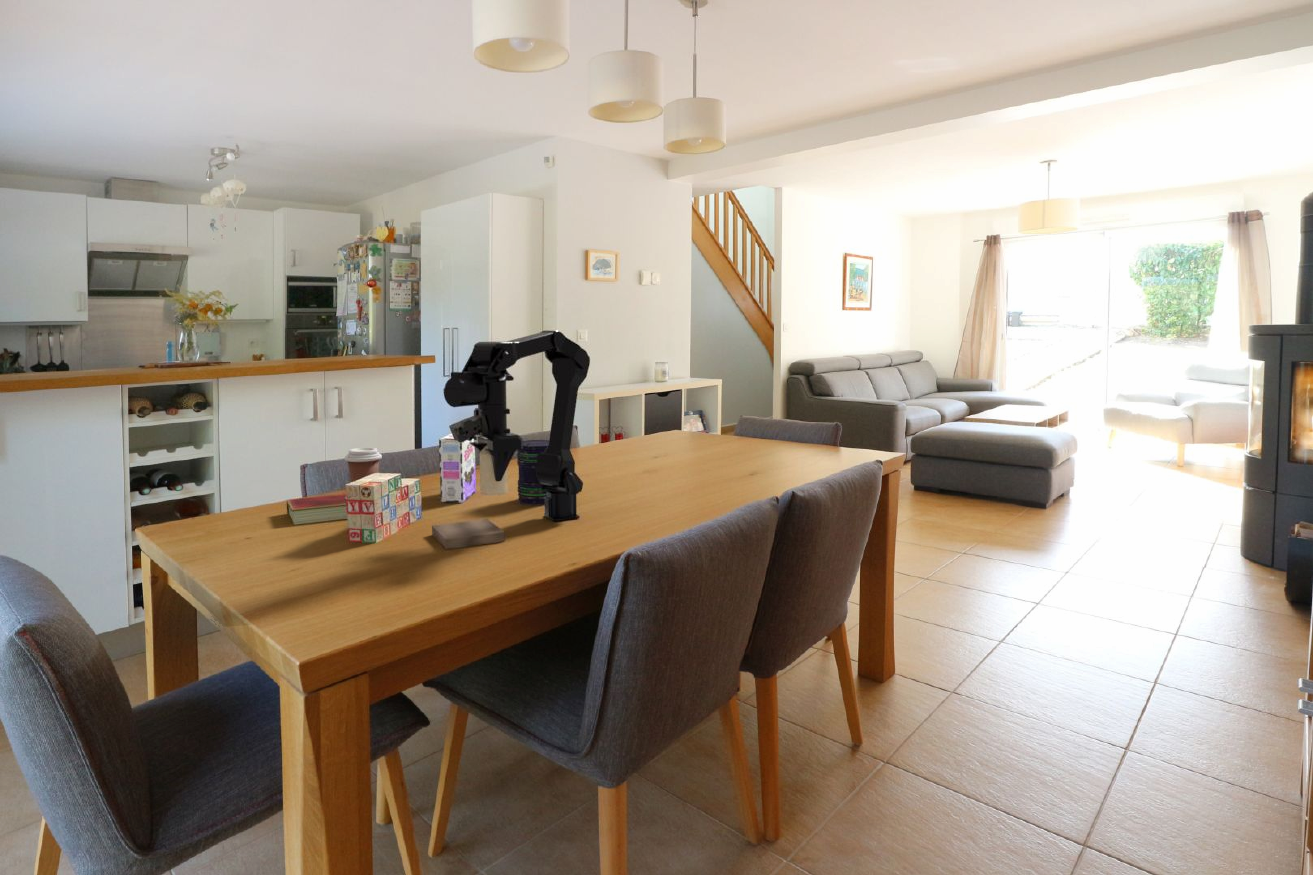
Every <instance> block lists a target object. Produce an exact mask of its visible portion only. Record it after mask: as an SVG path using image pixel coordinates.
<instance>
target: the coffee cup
mask: <svg viewBox="0 0 1313 875" xmlns="http://www.w3.org/2000/svg"><path fill="white" fill-rule="evenodd" d="M382 458H383V456H382V454H381V453H380V452H379V451H378V448H376V447H368V446H367V447H355V448H351V449H349V450H348V453H347V455H345V456H344V461H346V462H347V466H348V474H349V481H350V482H349V483H351V482H354V481H357V480H359V479H362V478H364V477H366V476H369V475H371V474H374V473H380V460H381V459H382Z"/></svg>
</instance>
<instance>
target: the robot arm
mask: <svg viewBox="0 0 1313 875" xmlns="http://www.w3.org/2000/svg"><path fill="white" fill-rule="evenodd" d="M541 353H544V357H545V359H547V361H549V363H551V373H552V376H553V379H554V381H555V383H556V387H555V388H556V389H555V395H554V403H553V408H552V409H553V410H552V415H551V416H552V418H551V425H550V432H549V439H548V441H549V445H548V448H547V449H546V450H545V452H544V453H539V454H538V456H537V466H536V468H535V471H537V479H538V480H539V484H540V487H541V490H542V491H547V498H545V505H544V513H543V515H544V517H546V518H548V519H550V520H551V521H553V522H558V521H564V520H566V521H567V520H573V519H580V517H581V516H580V515H579V514H578V513H577V507H578V506H577V495H578V494H579V493H581V492H582V491H583V486H584V481H583V480H582V479H581V478H580V476H579V475H578V474H577V473H576V471H575V470H576V469H575V468H576V461H575V459H574V456H573V454H572V451H571V445H572V438H573V437H572V436H573V429H574V422H575V415H576V414H575V413H576V407H577V400H578V392H579V387H580V386H581V385H582V384H583V382H584V381H585V380H586V378H587V376H588V372H589V368H590V364H591V358H590V355H589V354H588V352H587V351H586V350H585V349H584V348H583V347H582V346H581V345H579V344H578V343H576V342H574V341H573V340H571V339H570V338H568V337H566V336H565V334H564V333H563V332H561V331H559V330H548V329H547V330H545V329H544V330H542V331H540V332H537V333H534V334H530V335H526V336H522V337H518V338H514V339H511V340H510V339H509V340H508V341H478V342H476V343H475V344H474V345H473V349H472V352H471V353H470V356H469V357H468V359H467V361H466V363H465V365H464V366H463V369H462V370H461V371H451V372H450V377H449V379H448V380H447V381H446V383H445V385H444V388H443V397H444V400H445V402H446V403H447V404H448V405H449V406H450V407H453V408H460V407H471V406H477V407H474V410H473V415H472V416H470V417H466V418H463V419H462V420H458V421H456V422H454V423H452V424H450V425H449V426H448V428H449V429H450V432H451V433H452V435H453V438H454V440H455V441H456V440H457V441H458V442H464V441H466V440H468V441H472V439H474V442H471V443H470V444H471V445H472V446H474V447H475V450H477V451H478V453H479V455H480V452H481V451H482V450H483V449H484V447H485V446H488V449H485V451H486V452H487V453H489V454H490V455H491V457H492V463H493V469H494V475H495V480H496V481H501V480H502V478H503V476H504V474H505V471H506V469H507V470H508V467H509V464H510V462H511V461H512V458H514V457H513V456H514V455H515V452H517V449H522V448H523V441H524V439H523V438H522V437H521V436H520V435H519V434H516V433H513V432H511V429H510V428H508V425H507V424H508V421H507V420H508V419H507V417H508V416H507V415H510V414H511V413H510V412H511V410H510V408H507V382H509V381H510V382H511V381H514V379H515V377H514V376H513V375H512V374H511V373H509V371H508V370H507V369H509V368H511V367H513V366H514V365H515V364H516V363H517V361H519V360H521V359H523V358H526V357H529V356H530V357H531V356H534V355H536V354H541ZM451 433H450V434H451Z"/></svg>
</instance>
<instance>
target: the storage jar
mask: <svg viewBox="0 0 1313 875" xmlns="http://www.w3.org/2000/svg"><path fill="white" fill-rule="evenodd" d="M548 445H549V439H548V440H545V439H534V440H533V439H532V440H531V439H530V440H523V448H522V449H517V451H516V452H517V453H516V460H517V461H516V463H517V467H518V480H517V493H518V494H517V495H518V500H517V502H518V503H519V504H522V505H527V506H545V498H547V491H542V490H541V487H540V484H539V480H538V479H537V471H535V468H536V466H537V456H538V454H539V453H544V452H545V450H546V449H547V448H548Z"/></svg>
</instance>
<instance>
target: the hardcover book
mask: <svg viewBox="0 0 1313 875" xmlns="http://www.w3.org/2000/svg"><path fill="white" fill-rule="evenodd" d="M286 515H289V516H290V518H291V520H292V523H293V525H296V526H297V525H302V524H303V525H304V524H311V523H313V524H314V523H320V522H330V521H339V520H347V510H346V493H341V494H330V495H322V496H321V495H320V496H309V497H308V496H307V497H302V498H301V497H300V498H290V499H286Z"/></svg>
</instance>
